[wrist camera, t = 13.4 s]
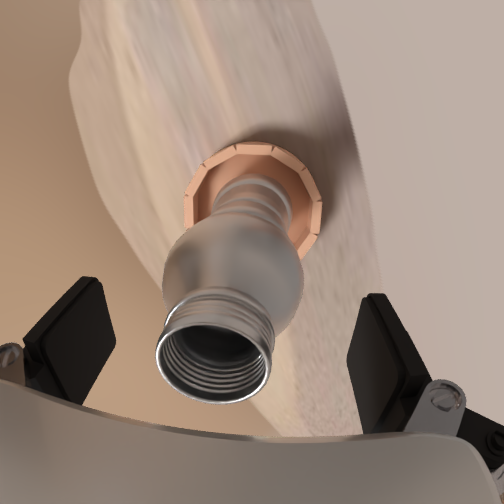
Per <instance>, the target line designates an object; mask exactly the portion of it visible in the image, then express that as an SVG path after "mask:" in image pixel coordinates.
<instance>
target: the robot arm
mask: <svg viewBox="0 0 504 504" xmlns="http://www.w3.org/2000/svg"><path fill="white" fill-rule="evenodd" d="M23 342H24V344H25V347H24V348H22V347H21V346H20V345H19V344H17V343H12V342H11V343H6V344H4V345H1V346H0V504H504V426H503V425H501V424H498V423H496V422H494V421H492V420H490V419H488V418H486V417H484V416H482V415H480V414H478V413H476V412H474V411H472V410H470V409H467V408H466V397H465V394H464V392H463V390H462V389H461V388H460V387H459V386H458V385H457V384H455V383H453V382H451V381H448V380H441V379H440V380H439V379H438V380H434V381H432V379H431V377H430V375H429V372H428V371H427V368H426V366H425V365H424V362H423V361H422V359H421V357H420V355H419V353H418V351H417V349H416V347H415V345H414V344H413V341H412V340H411V338H410V336H409V334H408V332H407V331H406V330H405V328H404V326H403V325H402V323H401V321H400V319H399V317H398V316H397V314H396V312H395V310H394V309H393V307H392V305H391V303H390V302H389V300H388V298H387V296H386V295H385V294H383V293H369V294H368V295H367V297H364V298H363V299H362V301H361V305H360V309H359V313H358V317H357V321H356V325H355V329H354V333H353V336H352V340H351V343H350V347H349V350H348V354H347V367H348V371H349V375H350V379H351V383H352V387H353V391H354V395H355V399H356V403H357V408H358V412H359V416H360V421H361V425H362V430H363V434H361V435H347V436H322V437H269V436H249V435H248V436H247V435H236V434H224V433H214V432H206V431H198V430H190V429H184V428H177V427H171V426H165V425H159V424H154V423H149V422H144V421H140V420H135V419H131V418H126V417H122V416H118V415H114V414H110V413H106V412H102V411H99V410H95V409H92V408H88V407H85V406H82V404H83V402H84V400H85V399H86V397H87V395H88V393H89V391H90V389H91V388H92V386H93V384H94V382H95V381H96V379H97V377H98V375H99V373H100V372H101V370H102V368H103V366H104V365H105V363H106V361H107V359H108V358H109V356H110V354H111V353H112V351H113V349H114V348H115V345H116V337H115V334H114V330H113V326H112V323H111V319H110V315H109V312H108V307H107V303H106V299H105V295H104V290H103V286H102V284H101V282H99V281H98V279H97V278H95V277H86V276H82V277H81V278H80V279H79V280H78V281H77V282H76V283H75V284H74V285H73V286H72V287H71V288H70V289H69V290H68V291H67V292H66V293H65V294H64V295H63V296H62V297H61V298H60V299H59V300H58V301H57V302H56V303H55V304H54V305H53V306H52V307H51V308H50V309H49V310H48V312H47V313H46V314H45V315H44V316H43V317H42V318H41V319H40V320H39V321H38V322H37V324H35V326H34V327H33V328H32V329H31V330H30V331H29V332H28V333H27V334H26V336H25V337H24V338H23Z"/></svg>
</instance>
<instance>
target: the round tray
mask: <svg viewBox="0 0 504 504" xmlns="http://www.w3.org/2000/svg"><path fill="white" fill-rule="evenodd" d="M250 173H253V174H262V175H266V176H269V177H271V178H273V179H275V180H276V181H277V182H279V183H280V184H281V185H282V186H283V187H284V188H285V189H286V191H287V193H288V195H289V196H290V199H291V202H292V209H293V214H292V221H291V224H290V228H289V231H288V236H289V238H290V240H291V241H292V243H293V245H294V247H295V248H296V250H297V252H298V256H299V258H300V261H301V259H302V258H303V257H304V255H305V254H306V253H307V251H308V250H309V249H310V247H311V246H312V245H313V243H314V242H315V240H316V239H317V238H318V236H317V234H319V231H320V222H321V212H322V201H321V199H322V198H321V196H320V194H319V191H318V189H317V186H316V184H315V182H314V179H313V177H312V176H311V174H310V172H309V171H308V169H307V168H306V167H305V165H304V164H303V163H302V162H301V161H300V160H299V159H298V158H297V157H295V156H294V155H293V154H291V153H290V152H289V151H287V150H285V149H283V148H281V147H279V146H276V145H274V144H270V143H265V142H257V141H253V142H242V143H237V144H234V145H231V146H228V147H226V148H224V149H222V150H220V151H218V152H217V153H215V154H214V155H212V156H211V157H210V158H209V159H207V160H205V161H204V162H203V163H202V164H200V166H199V168H198V170H197V171H196V173H195V175H194V177H193V178H192V180H191V182H190V184H189V186H188V187H187V189H186V191H185V194H186V195H185V196H184V220H185V228H188V229H187V230H189V229H190V228H191V227H192V226H193V225H195V224H197V223H198V222H200V221H201V220H203V219H205V218H207V217H208V216H210V215H211V211H212V207H213V203H214V200H215V198H216V196H217V194H218V192H219V191H220V190H221V188H222V187H223V186H224V185H225V184H226V183H227V182H229V181H230V180H232V179H233V178H235V177H238V176H241V175H244V174H250ZM187 230H186V231H187Z"/></svg>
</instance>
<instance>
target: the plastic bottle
mask: <svg viewBox="0 0 504 504" xmlns="http://www.w3.org/2000/svg"><path fill="white" fill-rule="evenodd" d="M292 214H293V209H292V202H291V199H290V196H289V195H288V193H287V191H286V189H285V188H284V187H283V186H282V185H281V184H280V183H279V182H277V181H276V180H275V179H273V178H271V177H269V176H266V175H262V174H253V173H250V174H244V175H241V176H238V177H235V178H233V179H232V180H230V181H229V182H227V183H226V184H225V185H224V186H223V187H222V188H221V190H220V191H219V192H218V194H217V196H216V198H215V200H214V203H213V207H212V211H211V215H210V216H208V217H207V218H205V219H203V220H201V221H200V222H198V223H197V224H195V225H193V226H192V227H191V228H190V229H189V230H187V231H186V232H185V233H184V234H183V235H182V236H181V237H180V238H179V239H178V240H177V241H176V243H175V244H174V246H173V247H172V249H171V250H170V252H169V254H168V257H167V259H166V262H165V266H164V273H163V281H162V293H163V300H164V303H165V306H166V309H167V311H168V315H167V318H166V320H165V324H164V330H163V332H162V334H161V335H160V337H159V340H158V343H157V347H156V354H155V359H156V365H157V367H158V370H159V372H160V374H161V375H162V377H163V378H164V380H165V381H166V382H167V383H168V384H169V385H170V386H171V387H172V388H174V389H175V390H176V391H178V392H179V393H181V394H183V395H185V396H186V397H188V398H191V399H193V400H196V401H200V402H204V403H209V404H232V403H237V402H241V401H244V400H247V399H249V398H251V397H253V396H254V395H256V394H257V393H258V392H259V391H261V389H262V388H263V387H264V386H265V385H266V383H267V381H268V378H269V375H270V372H271V366H272V352H273V350H274V344H275V337H277V336H278V335H279V334H280V333H281V332H282V331H283V330H284V329H285V328H286V327H287V326H288V325H289V323H290V322H291V320H292V319H293V317H294V315H295V313H296V311H297V308H298V306H299V303H300V301H301V298H302V295H303V289H304V273H303V268H302V265H301V262H300V258H299V256H298V252H297V250H296V248H295V247H294V245H293V243H292V241H291V240H290V238H289V236H288V231H289V228H290V224H291V221H292Z"/></svg>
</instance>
